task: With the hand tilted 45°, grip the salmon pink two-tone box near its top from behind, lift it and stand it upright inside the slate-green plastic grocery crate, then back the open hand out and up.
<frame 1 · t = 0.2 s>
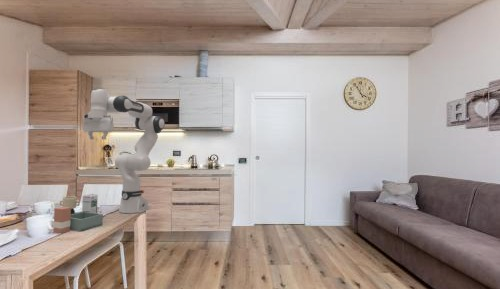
hand: (97, 139, 166), 48 cm above the table, tool pointing down, fingers open, 8 cm apart
crate: (81, 226, 155), on the table
character mug: (68, 219, 169), on the table
salmon pink two-tone box: (61, 231, 145), on the table
syrup box: (89, 219, 172), on the table
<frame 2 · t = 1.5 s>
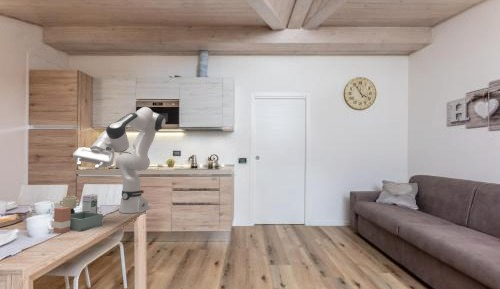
hand: (87, 166, 153), 33 cm above the table, tool tilted 50°, fingers open, 8 cm apart
nothing on the table moved.
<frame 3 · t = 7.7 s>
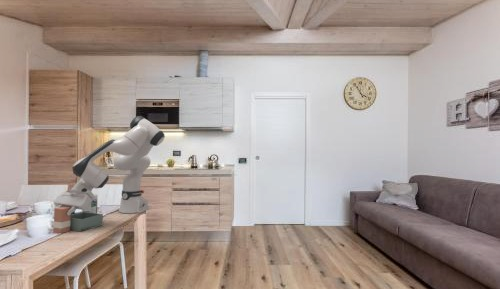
hand: (62, 214, 145), 9 cm above the table, tool tilted 45°, fingers closed on salmon pink two-tone box, 5 cm apart
salmon pink two-tone box: (61, 231, 145), on the table, touching gripper
everything else where it was.
when the fingers open (11 cm above the table, at t = 15.6 s): salmon pink two-tone box drops 1 cm, resting on crate.
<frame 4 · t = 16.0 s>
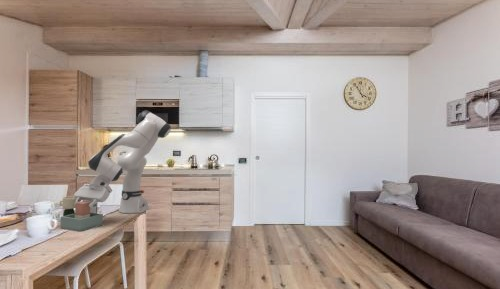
hand: (82, 206, 156), 11 cm above the table, tool tilted 45°, fingers open, 8 cm apart
salmon pink two-tone box: (82, 224, 156), point 1 cm above the table, touching crate
everything else where it was.
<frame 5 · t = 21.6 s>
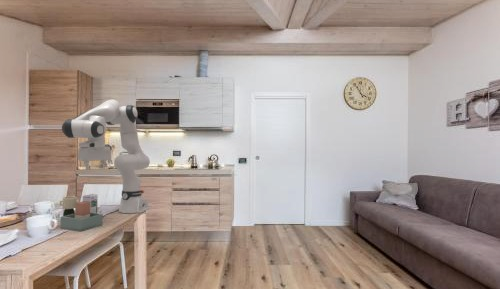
hand: (94, 168, 163), 31 cm above the table, tool pointing down, fingers open, 8 cm apart
nothing on the table moved.
at the end: salmon pink two-tone box inside the target area on the crate (0.0 cm from its centre), point 1.0 cm above the crate's base; salmon pink two-tone box tilted 0°; the gripper is holding nothing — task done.
